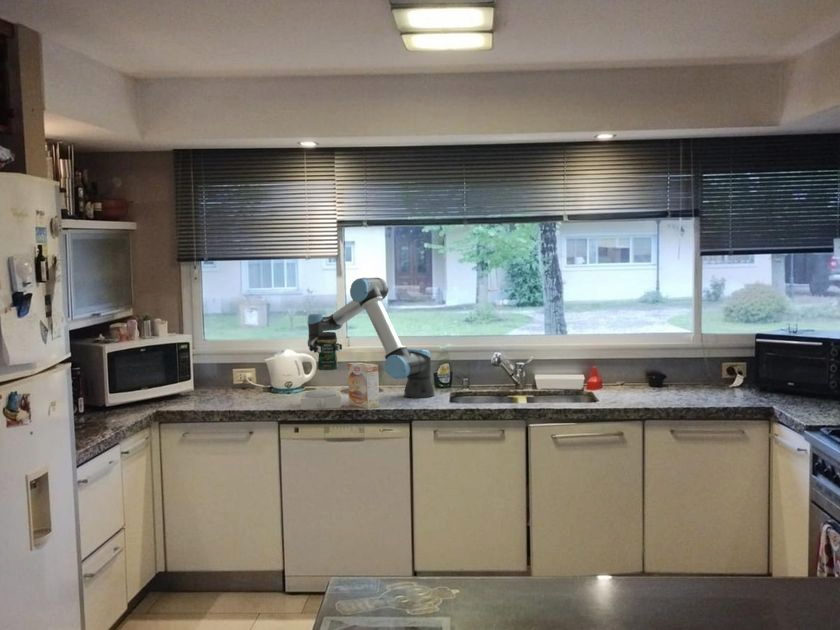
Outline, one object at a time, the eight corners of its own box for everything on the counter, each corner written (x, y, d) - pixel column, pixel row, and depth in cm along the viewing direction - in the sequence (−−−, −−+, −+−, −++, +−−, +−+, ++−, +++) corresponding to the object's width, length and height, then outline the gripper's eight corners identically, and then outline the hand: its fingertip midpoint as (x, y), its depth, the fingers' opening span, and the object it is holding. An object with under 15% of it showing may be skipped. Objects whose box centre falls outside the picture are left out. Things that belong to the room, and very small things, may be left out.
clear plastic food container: (340, 402, 364) (339, 389, 364) (340, 408, 349) (340, 394, 348) (302, 403, 362) (301, 390, 362) (301, 409, 347) (300, 396, 346)
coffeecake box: (348, 404, 358) (347, 363, 356) (360, 402, 362) (359, 361, 361) (367, 408, 346) (366, 366, 345) (379, 406, 351) (378, 364, 350)
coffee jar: (317, 371, 370) (315, 332, 369) (319, 368, 378) (318, 331, 377) (336, 370, 370) (335, 332, 369) (339, 368, 378) (337, 331, 377)
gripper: (340, 351, 394) (351, 355, 373) (299, 353, 387) (307, 358, 366) (340, 336, 393) (350, 340, 372) (298, 339, 386) (307, 342, 365)
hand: (329, 349), depth 369 cm, fingers closed on coffee jar, 9 cm apart
